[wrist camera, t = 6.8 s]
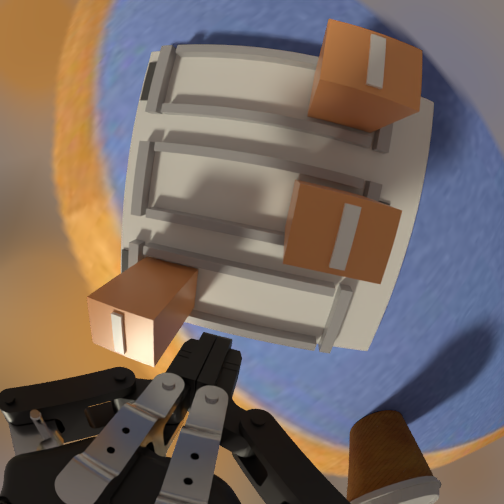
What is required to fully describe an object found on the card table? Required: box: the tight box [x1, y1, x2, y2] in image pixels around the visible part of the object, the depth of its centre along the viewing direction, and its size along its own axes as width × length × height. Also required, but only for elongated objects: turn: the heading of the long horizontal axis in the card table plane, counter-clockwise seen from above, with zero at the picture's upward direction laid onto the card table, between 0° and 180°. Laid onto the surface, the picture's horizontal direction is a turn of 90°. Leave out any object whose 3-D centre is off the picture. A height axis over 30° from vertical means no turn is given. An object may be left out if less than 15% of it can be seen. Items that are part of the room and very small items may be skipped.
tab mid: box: [283, 179, 402, 284], centre depth 13 cm, size 4×3×7 cm
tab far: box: [87, 257, 198, 367], centre depth 16 cm, size 4×3×7 cm
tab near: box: [307, 19, 422, 133], centre depth 11 cm, size 4×3×7 cm
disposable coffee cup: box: [347, 410, 441, 504], centre depth 18 cm, size 10×10×12 cm
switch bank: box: [121, 44, 434, 353], centre depth 17 cm, size 20×19×2 cm
